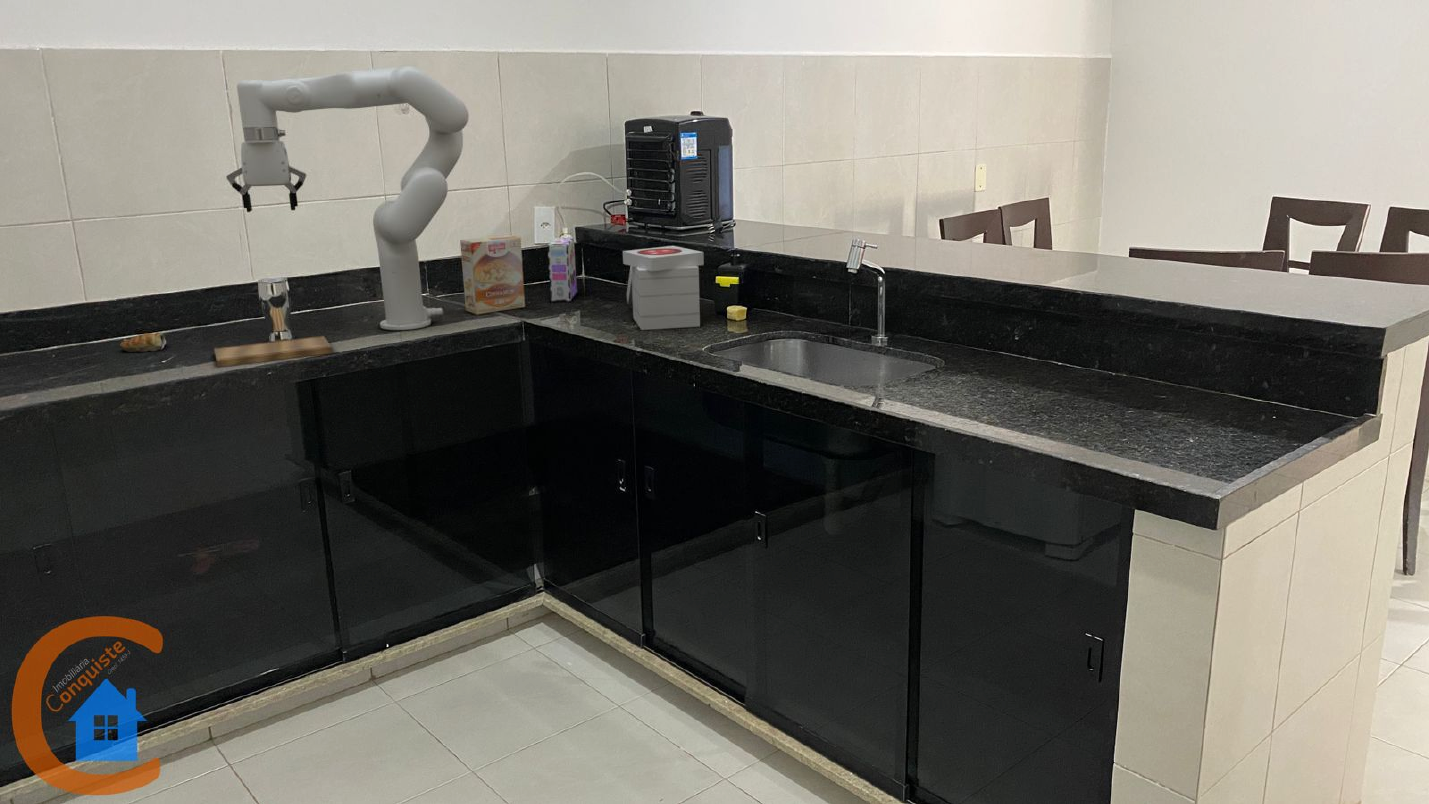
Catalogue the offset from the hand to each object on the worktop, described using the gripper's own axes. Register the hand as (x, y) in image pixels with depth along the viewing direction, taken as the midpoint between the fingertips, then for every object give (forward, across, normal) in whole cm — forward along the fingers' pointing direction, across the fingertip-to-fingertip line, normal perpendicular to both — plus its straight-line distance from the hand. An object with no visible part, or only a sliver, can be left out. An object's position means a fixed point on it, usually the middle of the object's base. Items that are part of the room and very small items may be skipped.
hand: (271, 210), depth 241 cm
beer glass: (+31, +2, +1) cm, 31 cm away
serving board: (+31, +2, +14) cm, 34 cm away
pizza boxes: (+31, -92, +8) cm, 97 cm away
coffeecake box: (+31, -51, -20) cm, 63 cm away
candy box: (+31, -72, -30) cm, 84 cm away
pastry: (+32, +32, -1) cm, 45 cm away
